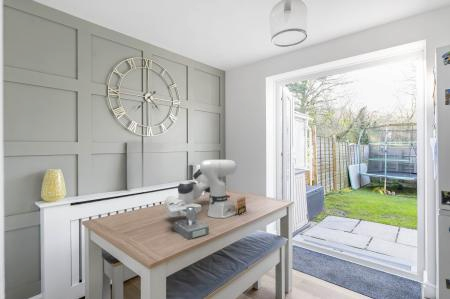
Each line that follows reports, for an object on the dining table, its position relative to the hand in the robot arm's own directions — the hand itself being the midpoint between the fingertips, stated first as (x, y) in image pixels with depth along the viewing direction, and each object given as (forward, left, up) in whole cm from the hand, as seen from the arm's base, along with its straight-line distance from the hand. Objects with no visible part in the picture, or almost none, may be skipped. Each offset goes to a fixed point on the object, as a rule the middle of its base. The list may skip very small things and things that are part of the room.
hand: (191, 213), depth 132 cm
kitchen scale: (0, -1, -11) cm, 11 cm away
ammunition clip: (-46, -9, -11) cm, 48 cm away
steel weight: (0, -1, -6) cm, 6 cm away
